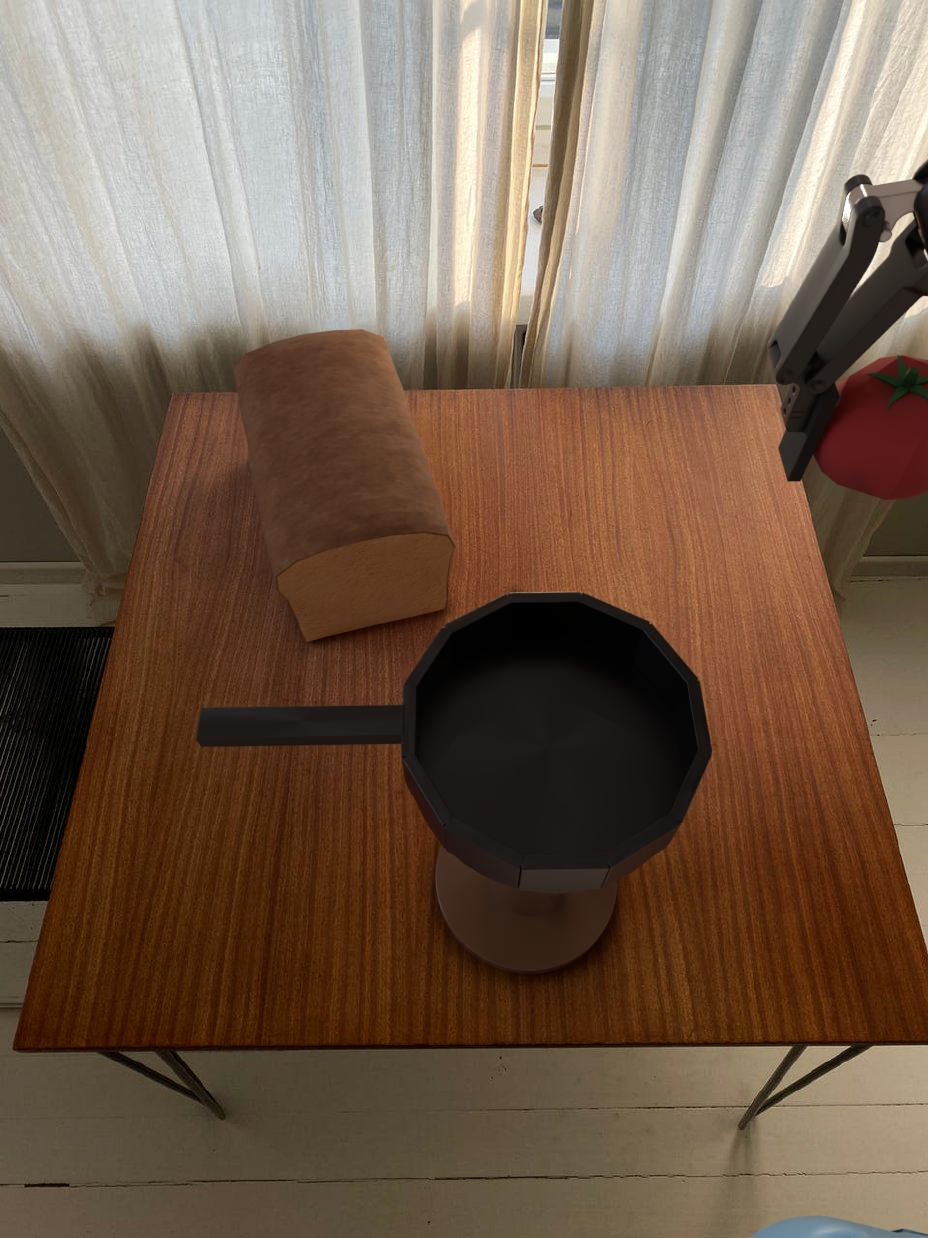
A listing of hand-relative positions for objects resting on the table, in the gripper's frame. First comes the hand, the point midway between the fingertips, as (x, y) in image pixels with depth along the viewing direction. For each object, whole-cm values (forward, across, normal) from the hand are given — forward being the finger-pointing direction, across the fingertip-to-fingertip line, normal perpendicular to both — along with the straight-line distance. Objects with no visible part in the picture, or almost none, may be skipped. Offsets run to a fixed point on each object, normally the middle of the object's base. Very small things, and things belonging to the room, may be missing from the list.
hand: (862, 463), depth 52 cm
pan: (+40, +24, +13) cm, 48 cm away
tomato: (0, 0, 0) cm, 1 cm away
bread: (+40, +37, -28) cm, 61 cm away
